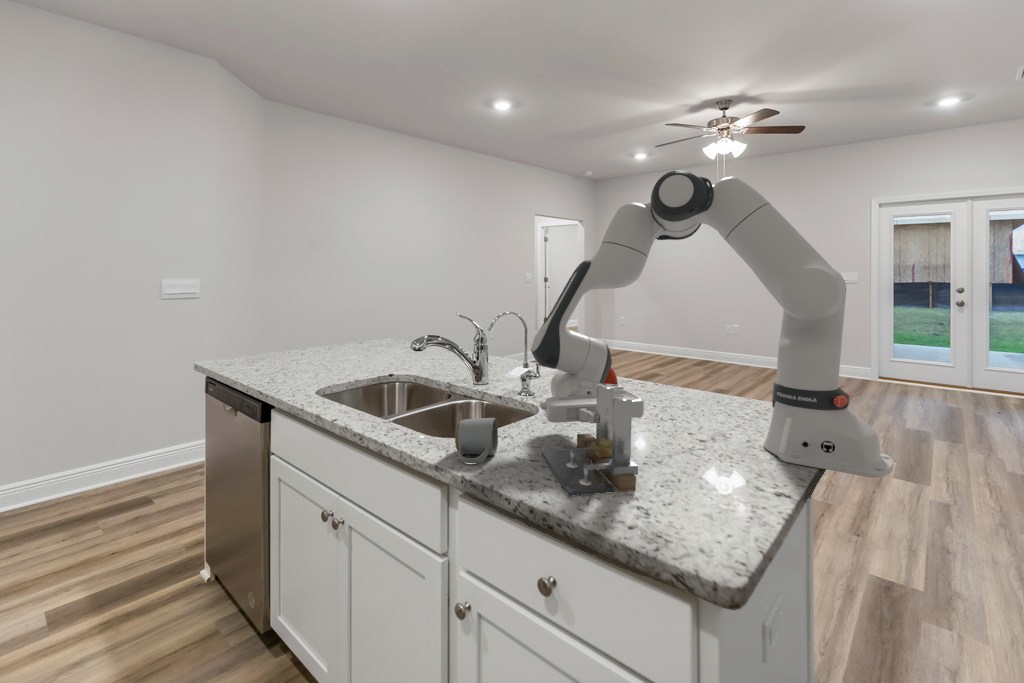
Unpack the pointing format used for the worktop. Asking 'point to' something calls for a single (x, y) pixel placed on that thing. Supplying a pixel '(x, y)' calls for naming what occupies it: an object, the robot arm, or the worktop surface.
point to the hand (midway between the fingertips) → (607, 418)
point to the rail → (618, 481)
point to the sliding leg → (601, 425)
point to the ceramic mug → (476, 438)
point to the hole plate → (575, 473)
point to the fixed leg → (619, 442)
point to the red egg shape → (611, 378)
